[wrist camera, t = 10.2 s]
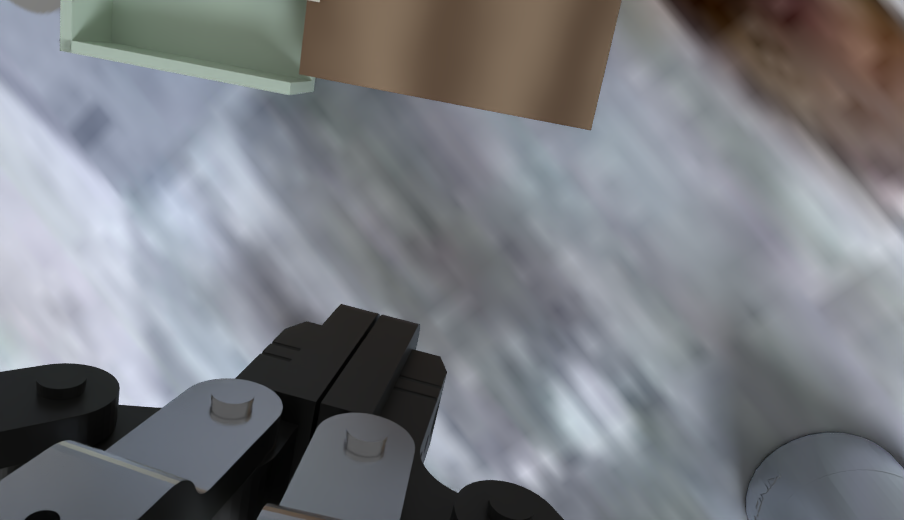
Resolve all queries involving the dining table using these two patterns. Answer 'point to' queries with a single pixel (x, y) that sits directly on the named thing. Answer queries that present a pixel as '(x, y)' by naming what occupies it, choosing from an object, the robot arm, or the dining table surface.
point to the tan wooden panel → (468, 52)
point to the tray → (195, 38)
